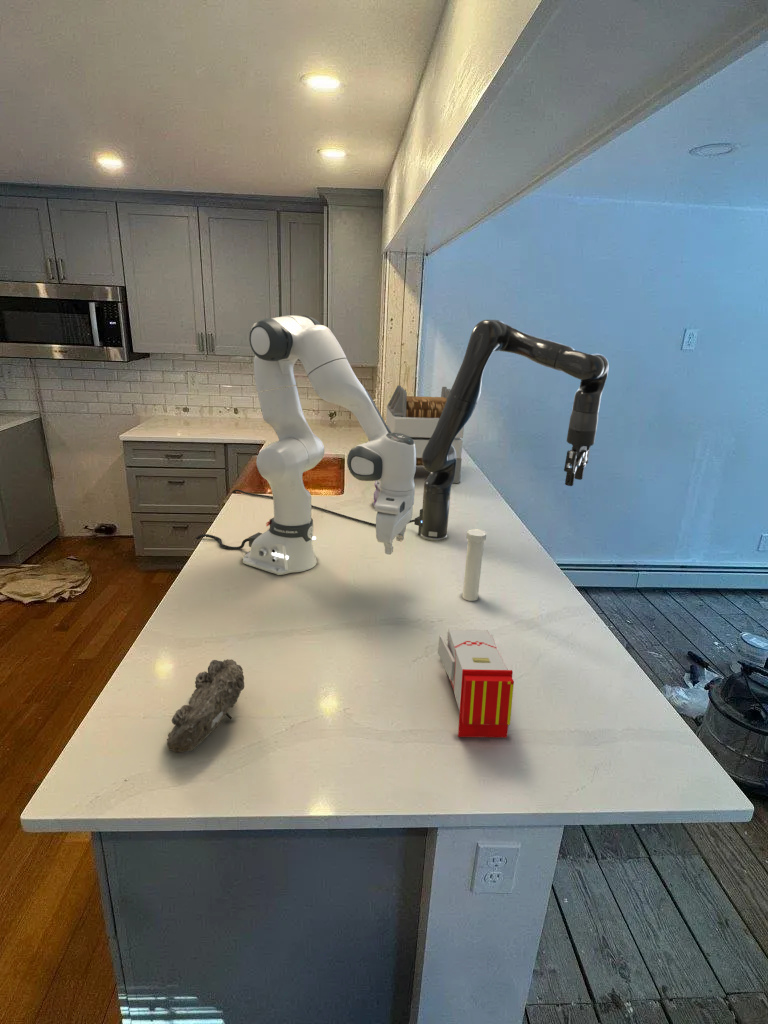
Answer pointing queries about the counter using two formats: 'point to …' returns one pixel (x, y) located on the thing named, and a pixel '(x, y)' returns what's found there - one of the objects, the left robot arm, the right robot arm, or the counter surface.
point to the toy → (478, 682)
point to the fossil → (206, 705)
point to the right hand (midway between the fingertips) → (573, 482)
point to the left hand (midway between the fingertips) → (394, 546)
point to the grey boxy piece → (420, 421)
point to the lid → (476, 535)
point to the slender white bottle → (472, 570)
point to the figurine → (376, 492)
